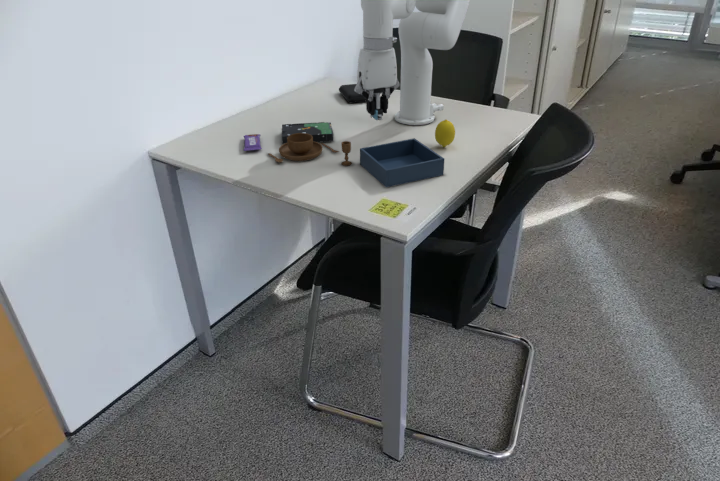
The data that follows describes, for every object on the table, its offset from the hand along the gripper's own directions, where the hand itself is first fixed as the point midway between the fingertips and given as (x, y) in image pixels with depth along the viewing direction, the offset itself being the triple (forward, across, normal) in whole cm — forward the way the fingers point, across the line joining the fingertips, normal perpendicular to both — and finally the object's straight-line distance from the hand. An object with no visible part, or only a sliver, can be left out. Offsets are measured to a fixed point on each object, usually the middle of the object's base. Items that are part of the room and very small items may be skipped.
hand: (377, 112), depth 149 cm
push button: (+2, 0, 0) cm, 2 cm away
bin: (+10, +2, +18) cm, 20 cm away
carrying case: (+9, -13, -43) cm, 46 cm away
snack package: (+10, +32, -15) cm, 37 cm away
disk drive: (+10, +16, -14) cm, 23 cm away
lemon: (+10, -16, +10) cm, 21 cm away
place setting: (+10, +21, +1) cm, 23 cm away
